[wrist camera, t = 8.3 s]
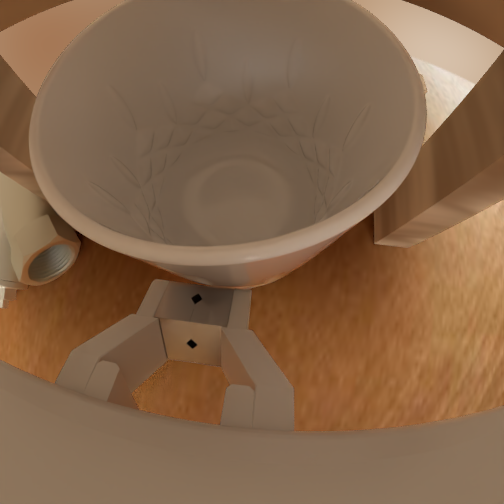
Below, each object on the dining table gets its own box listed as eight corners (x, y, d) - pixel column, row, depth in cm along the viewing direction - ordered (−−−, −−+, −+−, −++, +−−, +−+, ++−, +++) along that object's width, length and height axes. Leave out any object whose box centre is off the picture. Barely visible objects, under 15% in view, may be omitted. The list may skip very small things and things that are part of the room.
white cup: (332, 294, 14) (482, 239, 4) (160, 308, 13) (-3, 280, 4) (308, 142, 15) (355, -24, 5) (160, 155, 15) (82, 3, 5)
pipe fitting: (26, 321, 14) (92, 247, 14) (-20, 322, 10) (45, 233, 10) (-11, 225, 15) (44, 156, 16) (-49, 213, 11) (7, 131, 12)
